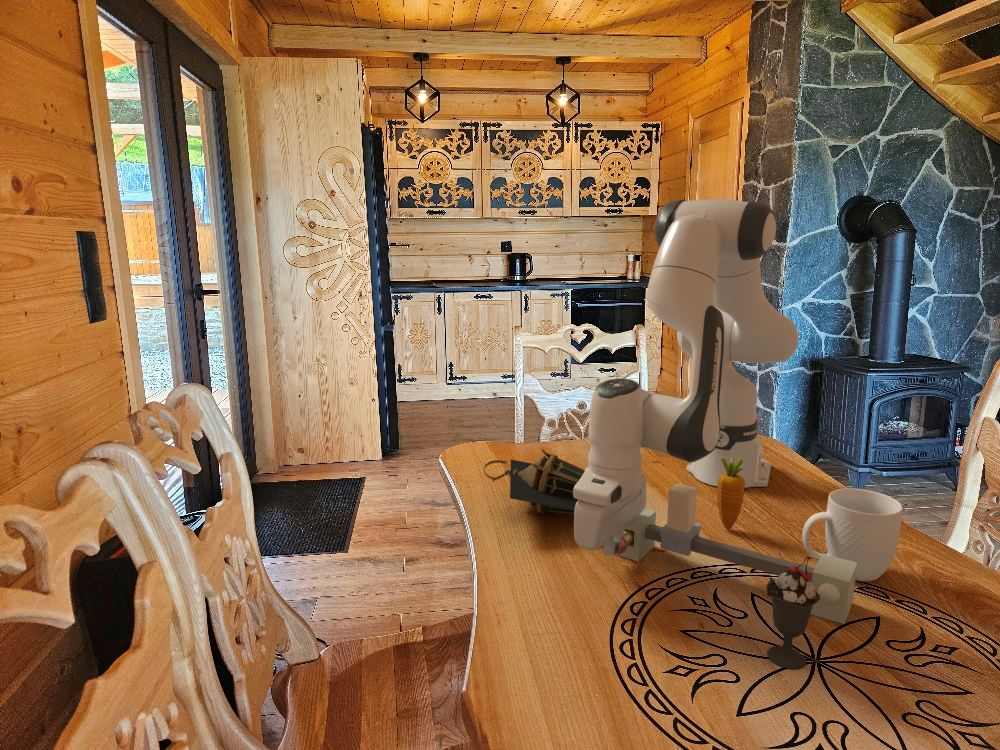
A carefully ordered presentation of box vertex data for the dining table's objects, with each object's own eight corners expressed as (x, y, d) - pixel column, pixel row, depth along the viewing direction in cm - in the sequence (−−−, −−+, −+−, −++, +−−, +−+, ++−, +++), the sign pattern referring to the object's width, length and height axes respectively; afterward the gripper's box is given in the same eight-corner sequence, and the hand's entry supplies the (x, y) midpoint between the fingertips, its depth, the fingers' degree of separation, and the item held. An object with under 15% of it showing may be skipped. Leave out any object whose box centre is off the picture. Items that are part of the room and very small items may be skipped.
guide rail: (629, 539, 126) (630, 504, 124) (852, 603, 104) (857, 562, 103) (611, 555, 120) (612, 519, 118) (843, 626, 98) (848, 583, 97)
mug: (811, 586, 109) (819, 513, 106) (788, 554, 120) (795, 486, 117) (906, 590, 108) (916, 515, 105) (875, 557, 118) (883, 488, 115)
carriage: (672, 536, 120) (675, 480, 118) (699, 543, 117) (703, 486, 115) (659, 549, 115) (662, 491, 113) (687, 557, 112) (690, 498, 110)
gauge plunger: (632, 530, 124) (632, 514, 123) (648, 534, 122) (648, 518, 122) (608, 551, 116) (608, 534, 116) (624, 556, 115) (625, 539, 114)
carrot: (708, 527, 130) (713, 455, 127) (727, 522, 133) (732, 451, 129) (728, 537, 126) (733, 463, 123) (746, 532, 128) (752, 458, 125)
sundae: (819, 655, 92) (830, 556, 88) (803, 680, 87) (814, 576, 83) (771, 636, 96) (780, 541, 93) (753, 659, 91) (761, 559, 88)
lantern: (624, 558, 126) (472, 518, 126) (606, 518, 149) (478, 483, 149) (644, 492, 125) (491, 450, 124) (624, 461, 148) (494, 426, 147)
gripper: (624, 455, 121) (622, 525, 124) (567, 492, 105) (566, 571, 108) (657, 462, 117) (653, 534, 120) (603, 501, 101) (601, 583, 104)
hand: (612, 552), depth 114 cm, fingers closed
